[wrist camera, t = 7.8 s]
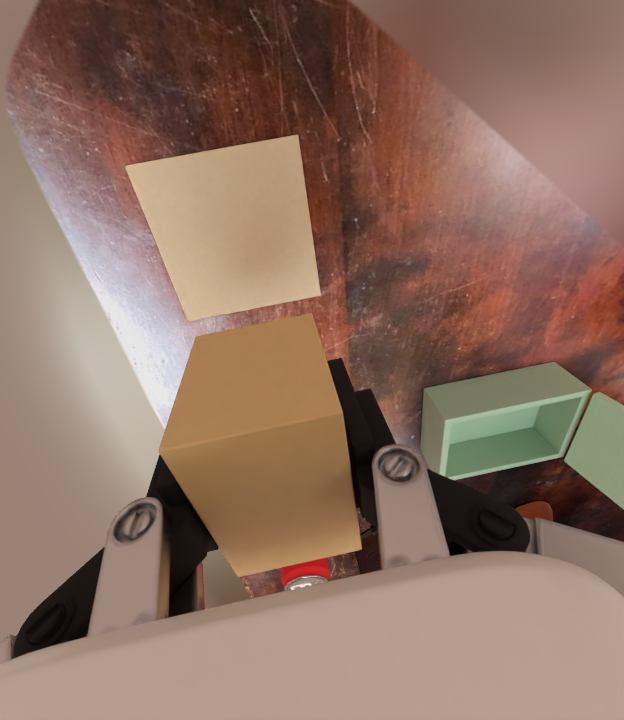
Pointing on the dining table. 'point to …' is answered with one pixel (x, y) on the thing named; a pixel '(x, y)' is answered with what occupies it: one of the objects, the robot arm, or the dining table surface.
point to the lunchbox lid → (601, 447)
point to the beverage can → (305, 574)
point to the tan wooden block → (264, 446)
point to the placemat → (231, 225)
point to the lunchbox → (500, 420)
